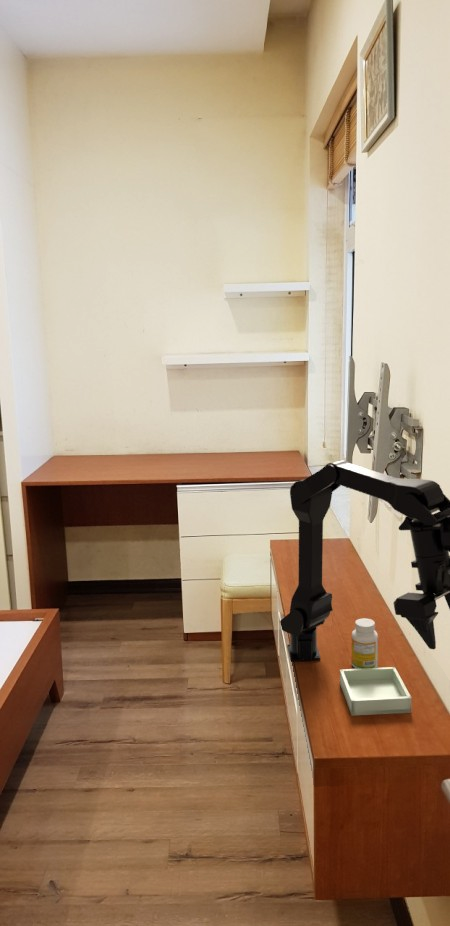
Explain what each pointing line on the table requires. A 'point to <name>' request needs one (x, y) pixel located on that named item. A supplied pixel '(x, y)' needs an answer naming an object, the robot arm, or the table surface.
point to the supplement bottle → (364, 644)
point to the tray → (374, 691)
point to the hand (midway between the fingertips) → (447, 639)
